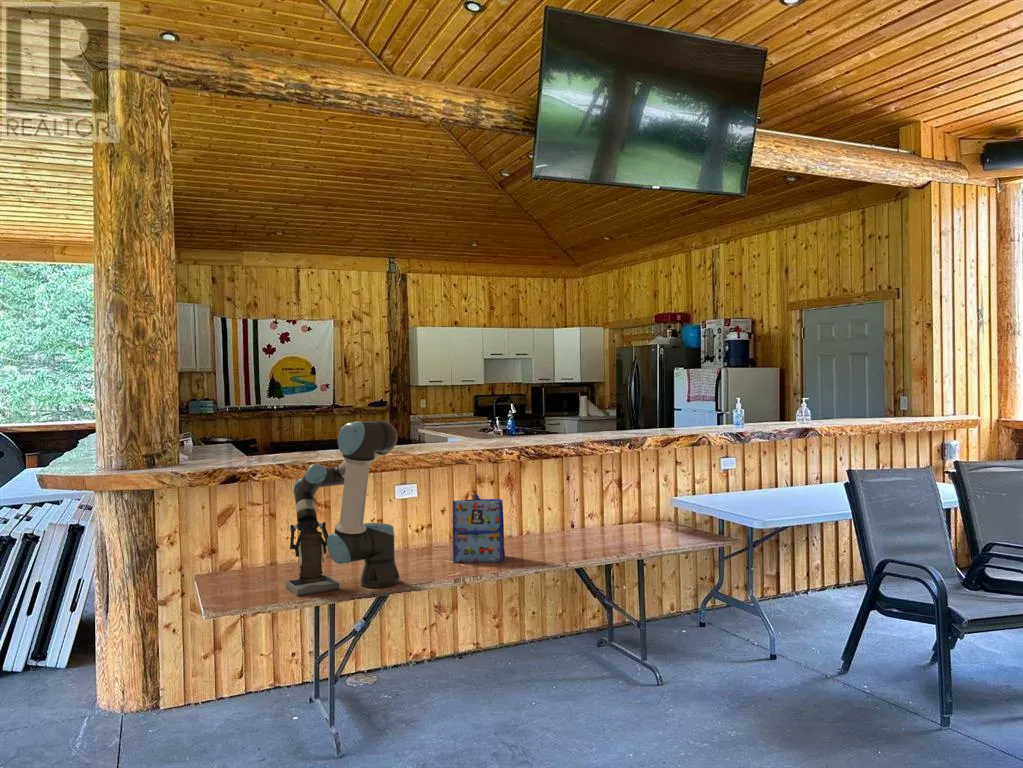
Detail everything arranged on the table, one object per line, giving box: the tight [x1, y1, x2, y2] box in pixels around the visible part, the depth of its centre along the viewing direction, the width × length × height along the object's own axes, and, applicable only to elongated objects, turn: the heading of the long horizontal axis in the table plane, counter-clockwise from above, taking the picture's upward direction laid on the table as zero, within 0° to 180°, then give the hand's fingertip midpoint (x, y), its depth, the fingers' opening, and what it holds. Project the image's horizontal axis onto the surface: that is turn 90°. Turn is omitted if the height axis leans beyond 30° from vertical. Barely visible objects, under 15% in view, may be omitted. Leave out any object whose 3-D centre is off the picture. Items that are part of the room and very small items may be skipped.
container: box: [298, 531, 324, 583], centre depth 287 cm, size 9×9×18 cm
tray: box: [285, 574, 341, 597], centre depth 287 cm, size 16×16×2 cm
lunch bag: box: [451, 493, 506, 563], centre depth 329 cm, size 22×14×29 cm, turn 86°
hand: (312, 561), depth 284 cm, fingers closed on container, 8 cm apart
